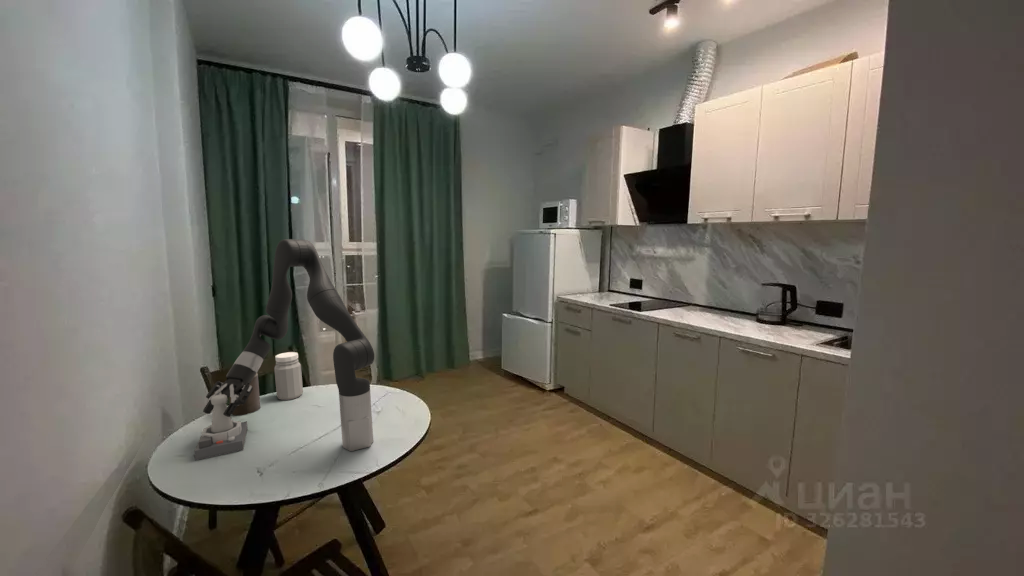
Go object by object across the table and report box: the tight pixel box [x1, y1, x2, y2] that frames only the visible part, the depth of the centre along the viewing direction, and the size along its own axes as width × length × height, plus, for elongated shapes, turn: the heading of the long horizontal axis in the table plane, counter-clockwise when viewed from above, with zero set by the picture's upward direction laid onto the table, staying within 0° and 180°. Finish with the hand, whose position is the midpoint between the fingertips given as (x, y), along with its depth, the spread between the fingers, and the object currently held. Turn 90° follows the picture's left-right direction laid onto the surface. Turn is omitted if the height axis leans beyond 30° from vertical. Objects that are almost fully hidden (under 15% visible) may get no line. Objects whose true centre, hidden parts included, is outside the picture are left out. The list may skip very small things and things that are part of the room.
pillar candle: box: [228, 372, 261, 416], centre depth 156 cm, size 10×10×15 cm
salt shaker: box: [211, 393, 233, 434], centre depth 130 cm, size 6×6×13 cm
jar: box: [273, 351, 304, 401], centre depth 169 cm, size 10×10×18 cm
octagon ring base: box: [193, 419, 249, 461], centre depth 131 cm, size 16×12×6 cm
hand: (216, 414), depth 128 cm, fingers open, 8 cm apart
